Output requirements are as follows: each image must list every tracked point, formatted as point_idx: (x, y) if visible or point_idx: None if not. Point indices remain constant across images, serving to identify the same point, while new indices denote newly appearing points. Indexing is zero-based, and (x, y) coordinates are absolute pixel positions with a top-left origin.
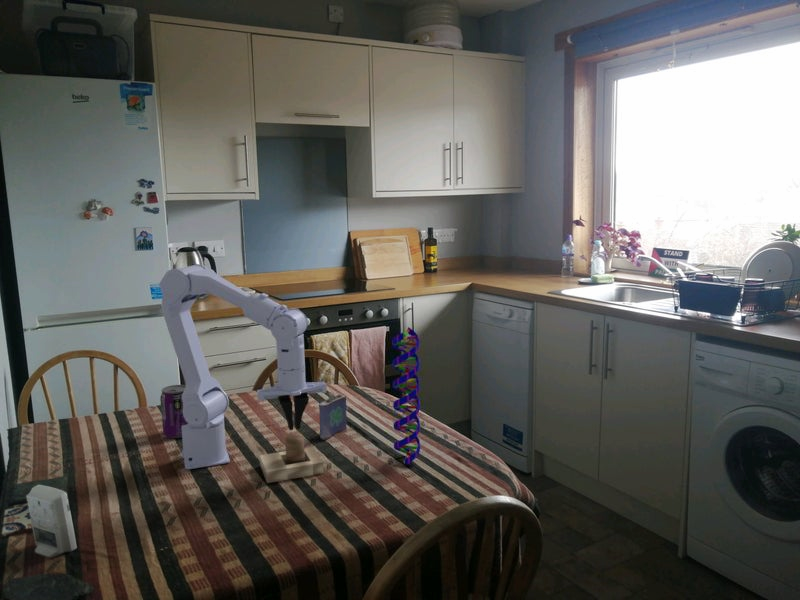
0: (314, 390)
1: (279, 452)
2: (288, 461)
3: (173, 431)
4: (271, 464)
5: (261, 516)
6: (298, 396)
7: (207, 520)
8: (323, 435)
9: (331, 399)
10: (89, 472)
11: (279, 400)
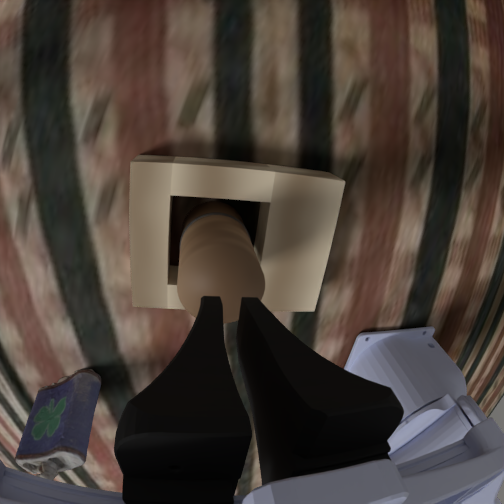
0: (55, 501)
1: None
2: (247, 231)
3: None
4: (310, 230)
5: (396, 6)
6: (217, 483)
7: (481, 78)
8: (91, 379)
9: (48, 465)
10: (497, 353)
11: (387, 444)
